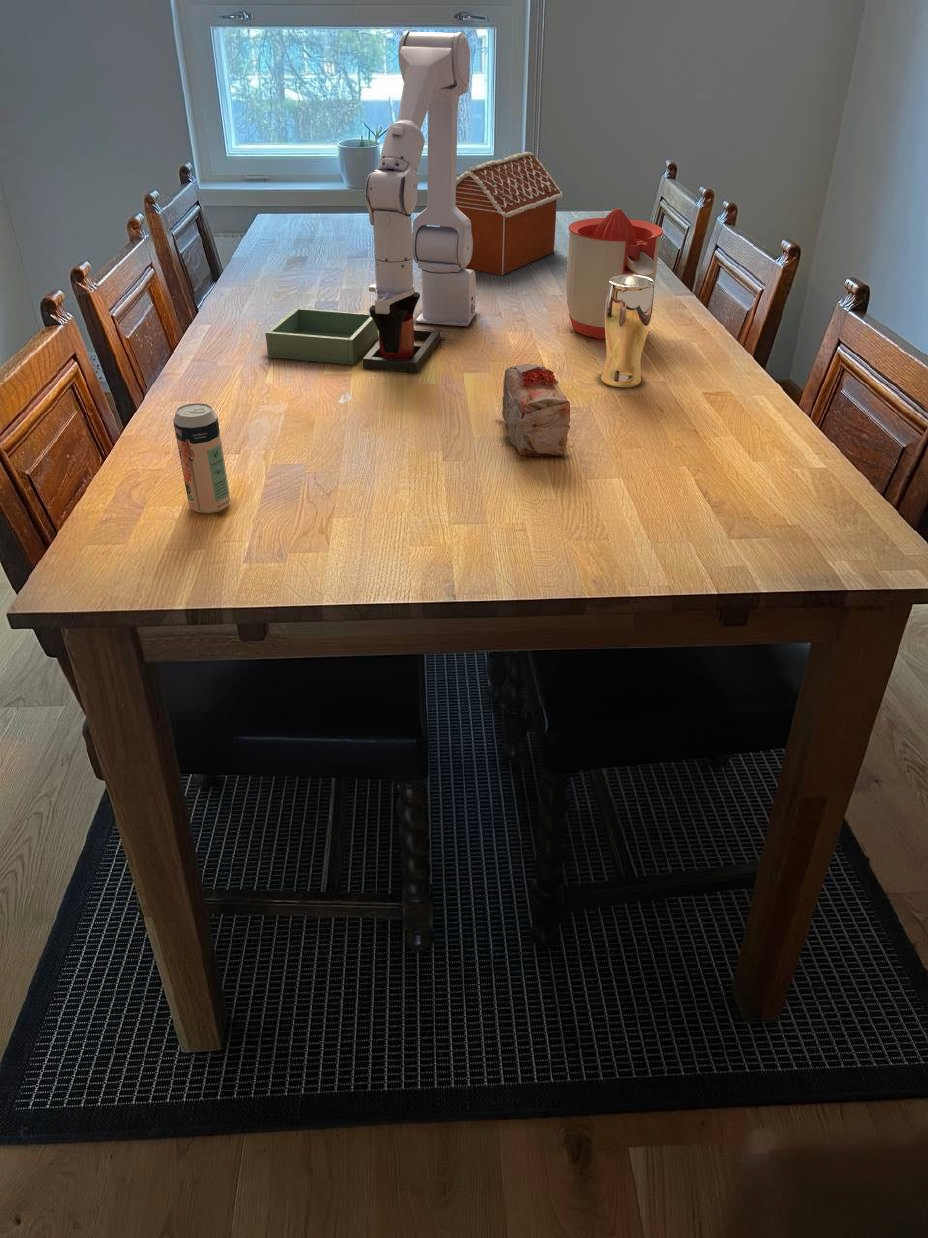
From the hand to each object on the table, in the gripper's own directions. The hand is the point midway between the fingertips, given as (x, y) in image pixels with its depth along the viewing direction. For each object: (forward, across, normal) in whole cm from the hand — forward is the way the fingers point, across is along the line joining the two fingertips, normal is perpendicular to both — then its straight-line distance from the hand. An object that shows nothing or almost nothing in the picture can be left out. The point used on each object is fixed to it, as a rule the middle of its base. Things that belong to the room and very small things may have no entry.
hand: (396, 345), depth 146 cm
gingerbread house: (+3, -67, +4) cm, 67 cm away
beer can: (+2, +52, -8) cm, 53 cm away
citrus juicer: (+3, -23, +32) cm, 39 cm away
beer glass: (+3, 0, +36) cm, 36 cm away
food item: (+3, +25, +26) cm, 36 cm away
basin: (+2, -3, -14) cm, 14 cm away
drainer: (+2, -4, 0) cm, 4 cm away
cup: (+2, 0, 0) cm, 2 cm away
